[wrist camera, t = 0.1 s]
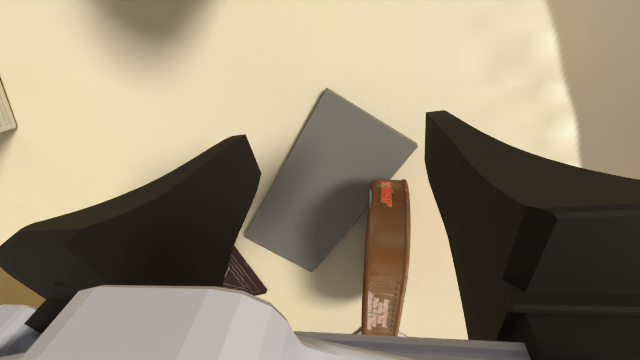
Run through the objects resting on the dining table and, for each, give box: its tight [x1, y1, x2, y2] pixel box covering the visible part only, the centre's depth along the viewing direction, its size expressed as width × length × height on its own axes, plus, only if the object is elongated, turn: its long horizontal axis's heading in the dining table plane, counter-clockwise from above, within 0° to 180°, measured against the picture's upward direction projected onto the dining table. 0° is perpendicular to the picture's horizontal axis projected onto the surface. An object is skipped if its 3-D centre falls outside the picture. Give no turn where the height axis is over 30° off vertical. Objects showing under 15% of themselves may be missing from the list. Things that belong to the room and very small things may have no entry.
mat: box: [244, 88, 418, 272], centre depth 25 cm, size 17×8×1 cm, turn 151°
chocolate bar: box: [222, 246, 267, 296], centre depth 34 cm, size 9×1×18 cm
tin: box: [361, 179, 411, 336], centre depth 22 cm, size 15×3×8 cm, turn 3°
